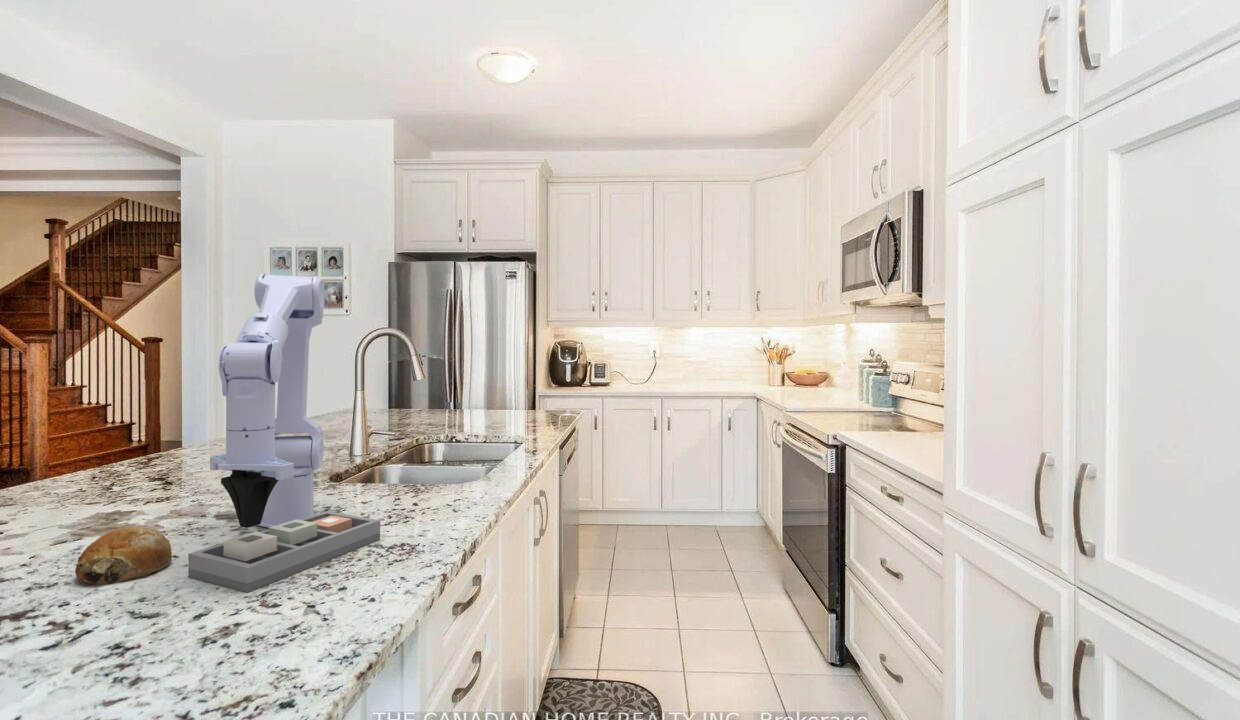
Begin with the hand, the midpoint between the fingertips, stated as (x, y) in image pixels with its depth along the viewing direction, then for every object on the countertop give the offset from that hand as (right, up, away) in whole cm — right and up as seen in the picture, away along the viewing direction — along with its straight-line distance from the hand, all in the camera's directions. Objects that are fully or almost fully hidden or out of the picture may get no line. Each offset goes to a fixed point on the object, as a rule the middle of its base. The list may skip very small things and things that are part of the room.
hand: (250, 525), depth 78 cm
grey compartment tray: (+2, -7, +6) cm, 9 cm away
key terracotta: (+5, -5, +12) cm, 14 cm away
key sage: (+2, -4, +6) cm, 8 cm away
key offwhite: (0, -4, 0) cm, 4 cm away
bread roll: (-17, -7, 0) cm, 19 cm away
